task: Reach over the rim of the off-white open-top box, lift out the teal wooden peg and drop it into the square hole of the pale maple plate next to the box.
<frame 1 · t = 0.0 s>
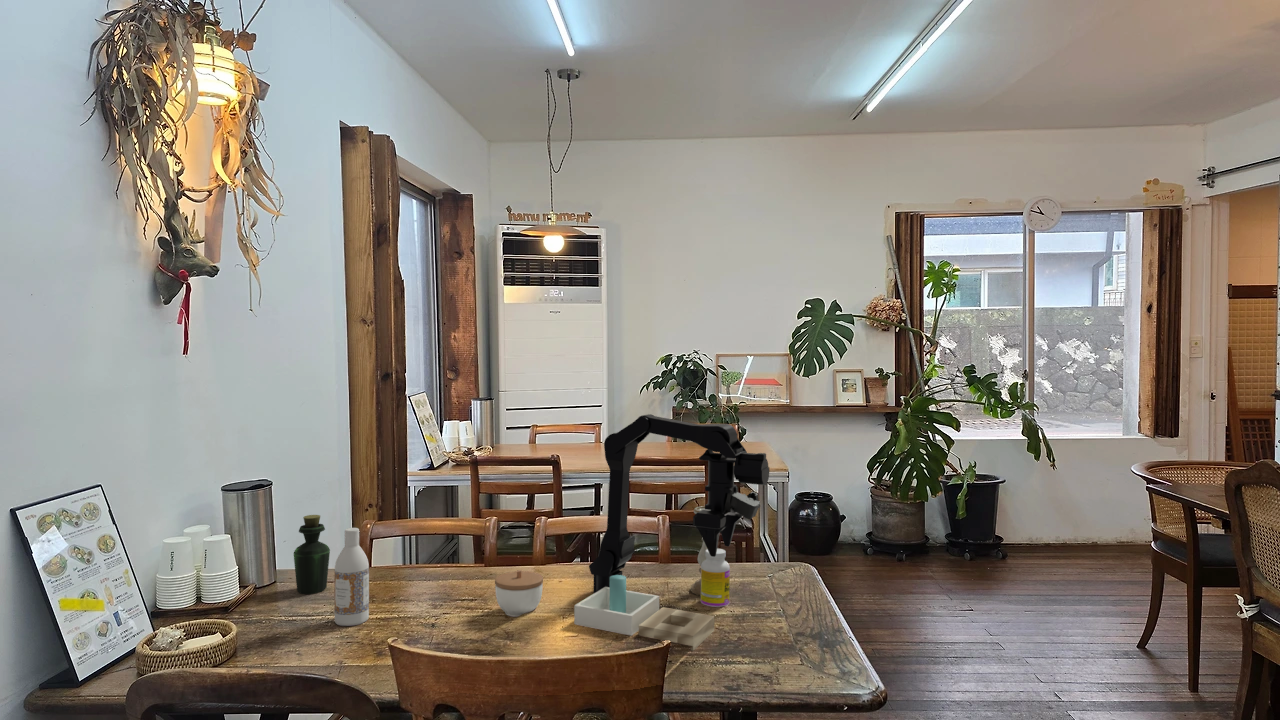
hand: (720, 551, 164), 15 cm above the table, tool pointing down, fingers open, 9 cm apart
potion bottle: (311, 590, 180), on the table
peg: (617, 618, 160), point 1 cm above the table, touching open box
open box: (617, 623, 160), on the table
bore plate: (677, 635, 153), on the table
bath foam: (351, 621, 160), on the table
lidded jar: (518, 613, 166), on the table
candle holder: (708, 592, 181), on the table
supplement bottle: (714, 606, 171), on the table
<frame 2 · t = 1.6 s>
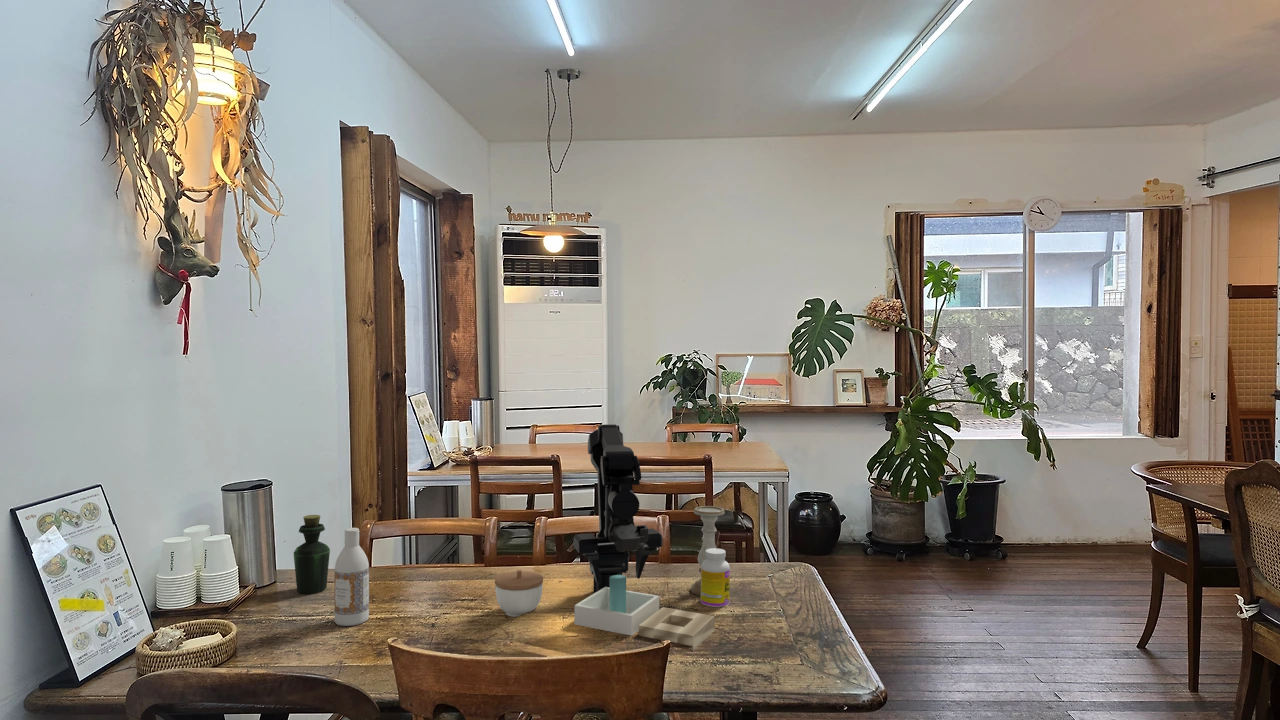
hand: (617, 580, 160), 9 cm above the table, tool pointing down, fingers open, 9 cm apart
nothing on the table moved.
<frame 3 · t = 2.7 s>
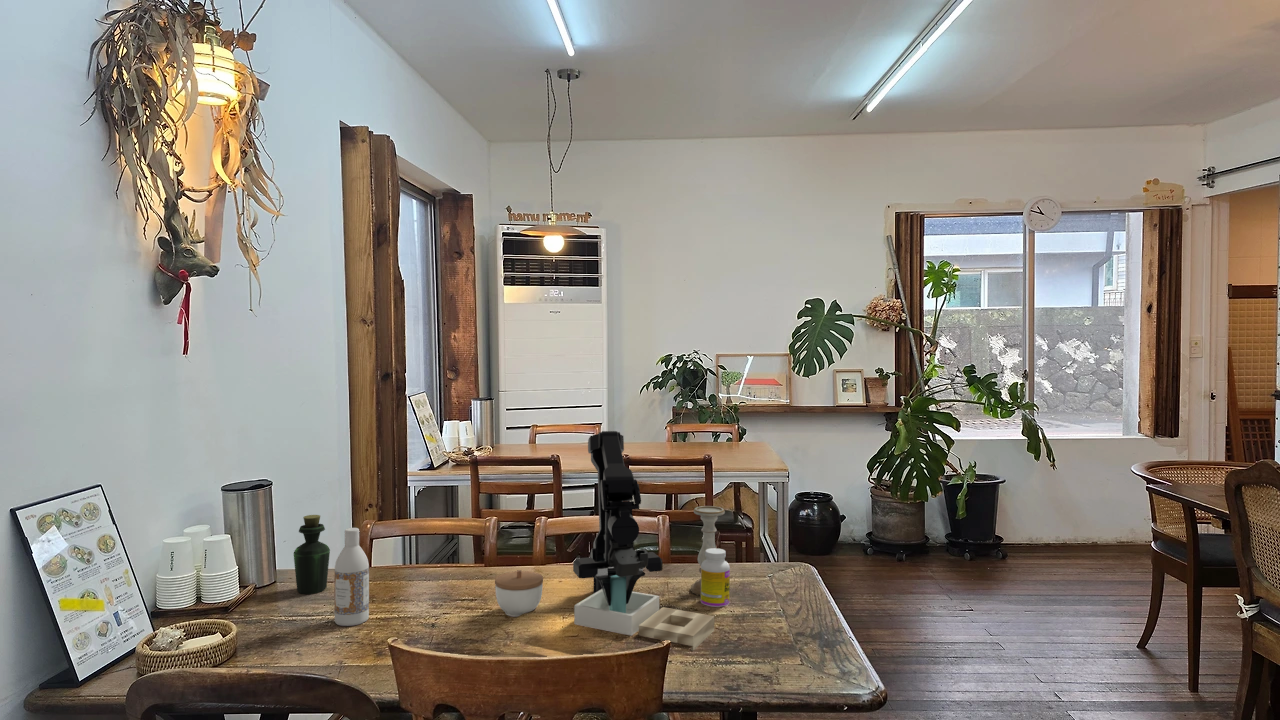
hand: (617, 604, 160), 4 cm above the table, tool pointing down, fingers closed on peg, 4 cm apart
peg: (617, 618, 160), point 1 cm above the table, touching gripper, open box
everything else where it was.
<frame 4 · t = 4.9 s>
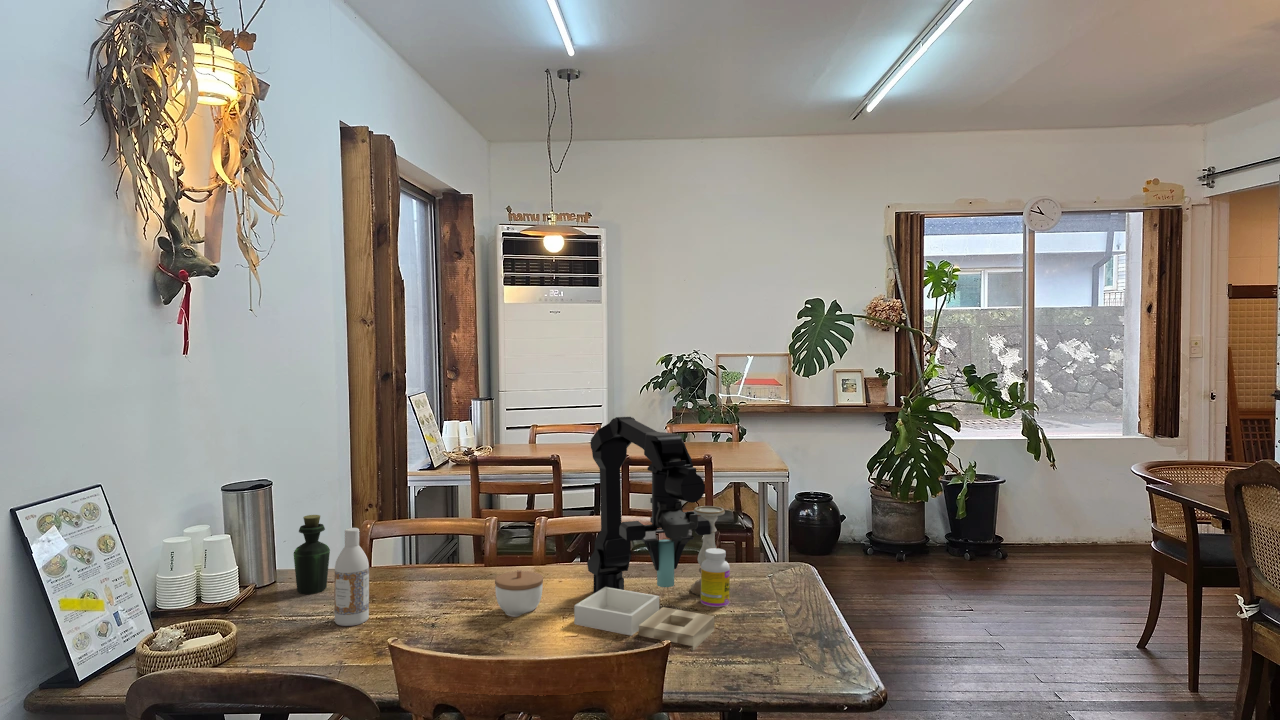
hand: (665, 569, 154), 13 cm above the table, tool pointing down, fingers closed on peg, 4 cm apart
peg: (665, 584, 154), point 10 cm above the table, touching gripper
everything else where it was.
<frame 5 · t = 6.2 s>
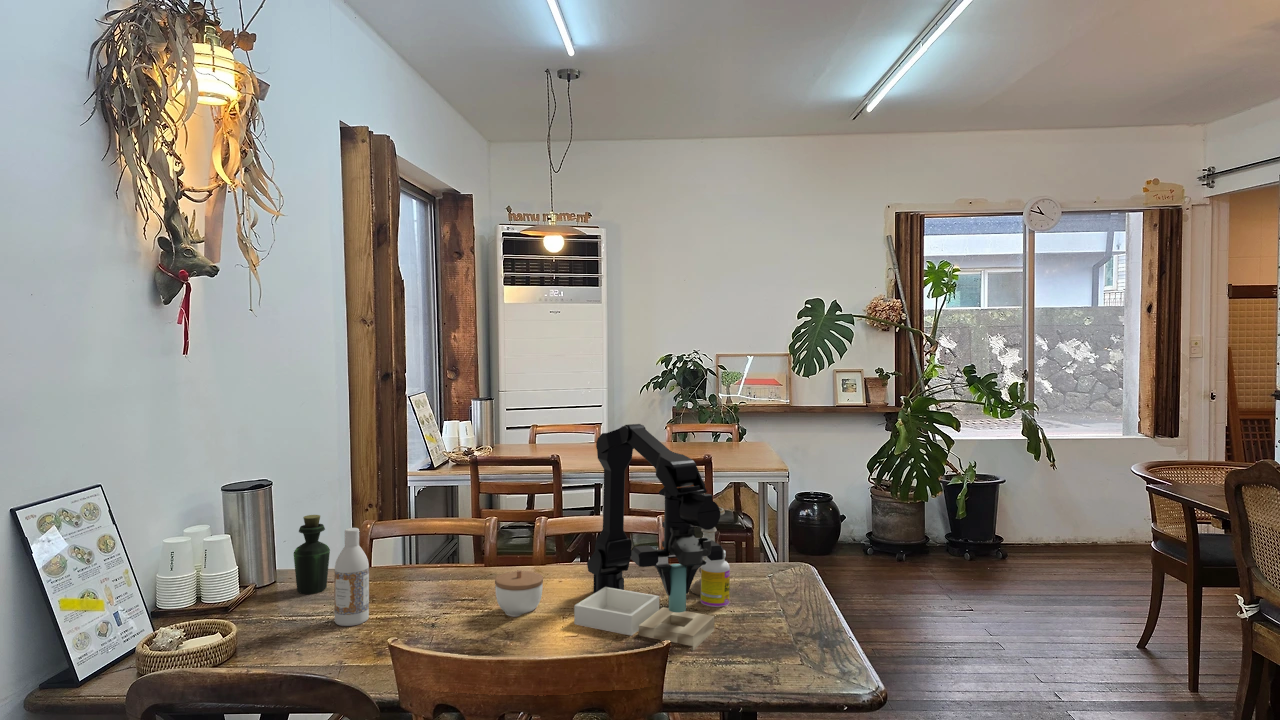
hand: (677, 594, 153), 9 cm above the table, tool pointing down, fingers closed on peg, 4 cm apart
peg: (677, 609, 153), point 5 cm above the table, touching gripper
everything else where it was.
when the fingers open (5 cm above the table, at t = 7.2 s): peg drops 2 cm, resting in bore plate.
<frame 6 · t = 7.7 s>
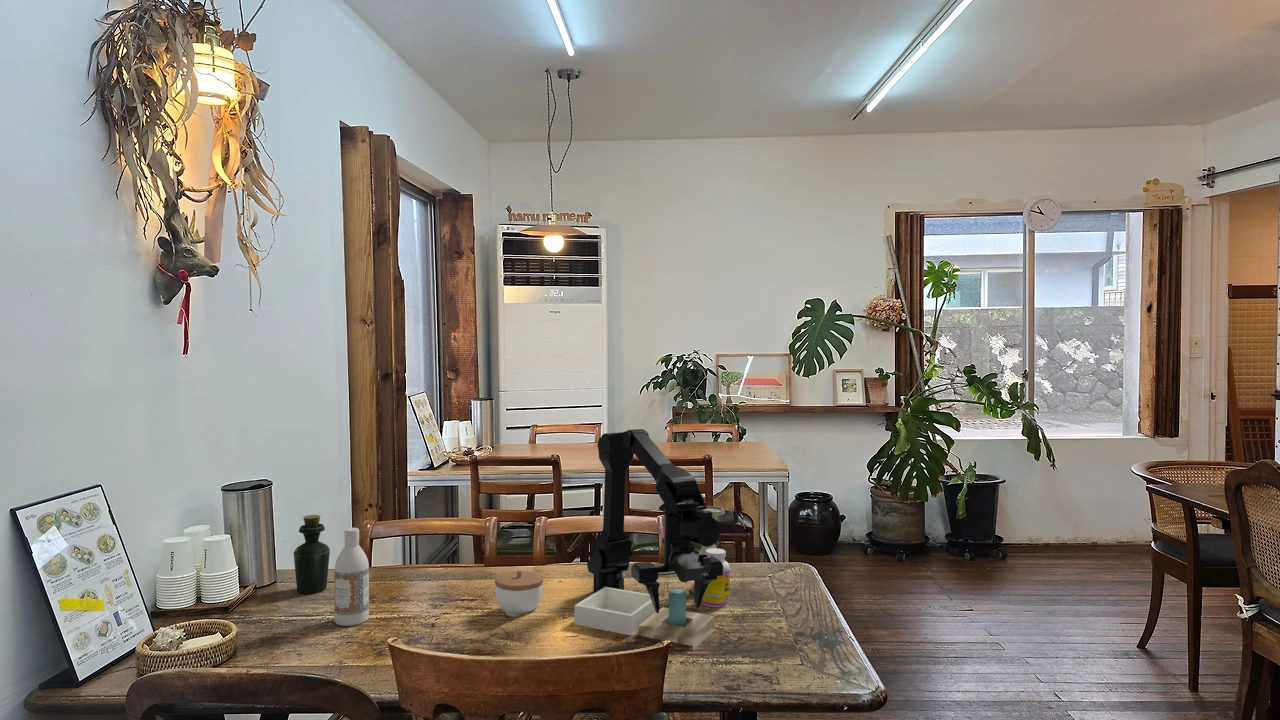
hand: (677, 610, 153), 5 cm above the table, tool pointing down, fingers open, 9 cm apart
peg: (677, 635, 153), resting in bore plate
everything else where it was.
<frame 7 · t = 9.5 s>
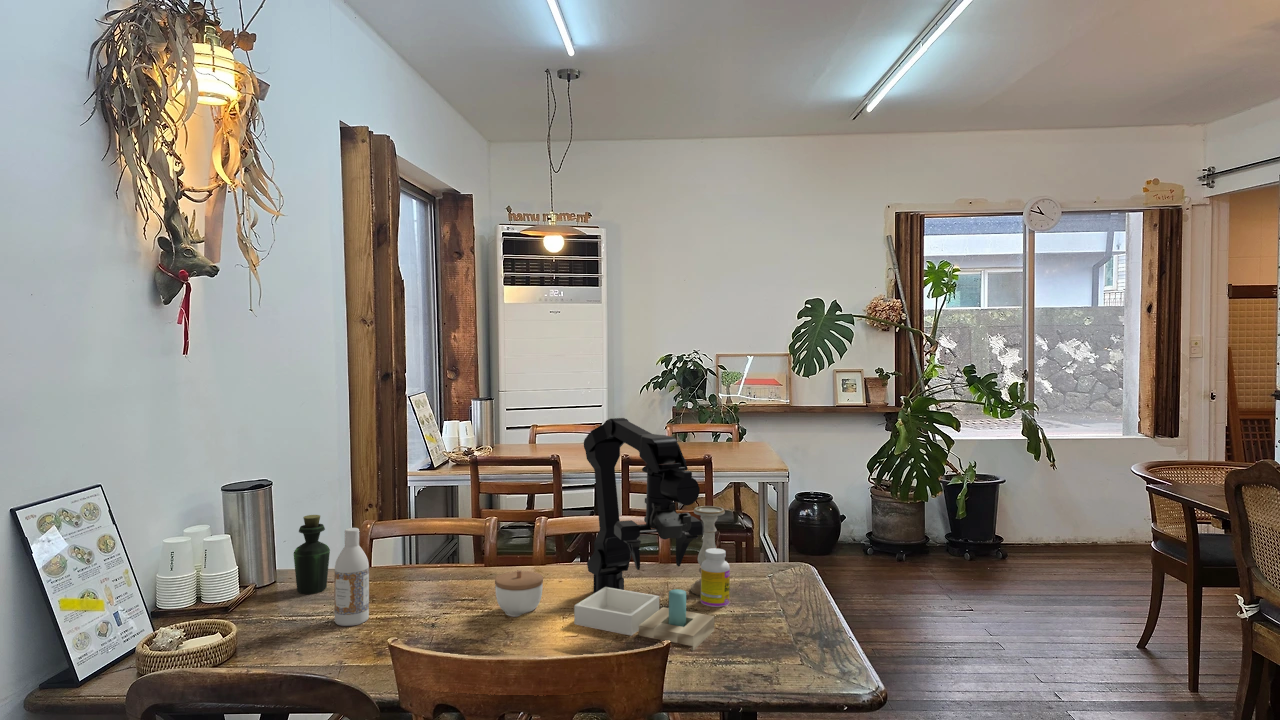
hand: (658, 567, 158), 13 cm above the table, tool pointing down, fingers open, 9 cm apart
nothing on the table moved.
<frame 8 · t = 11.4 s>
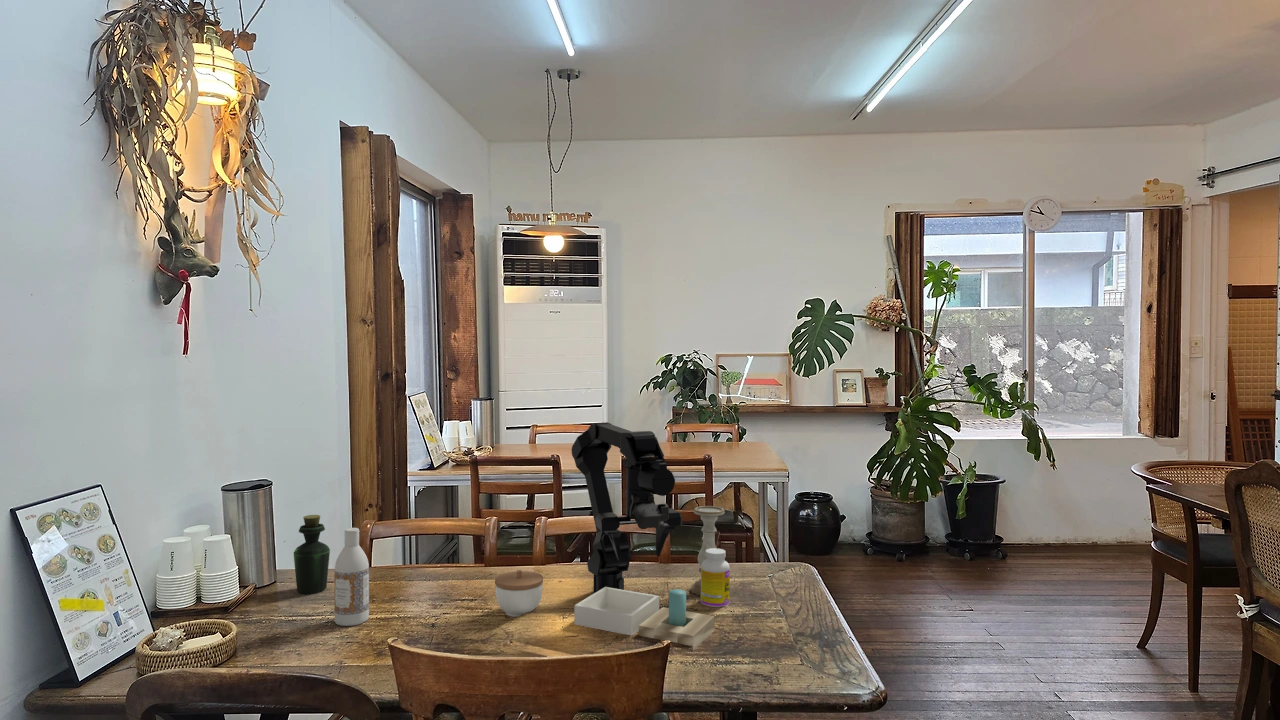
hand: (638, 558, 164), 13 cm above the table, tool pointing down, fingers open, 9 cm apart
nothing on the table moved.
at the end: peg 0.0 cm off-centre on the bore plate, point 0.0 cm above the bore plate's base; peg tilted 0°; the gripper is holding nothing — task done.
